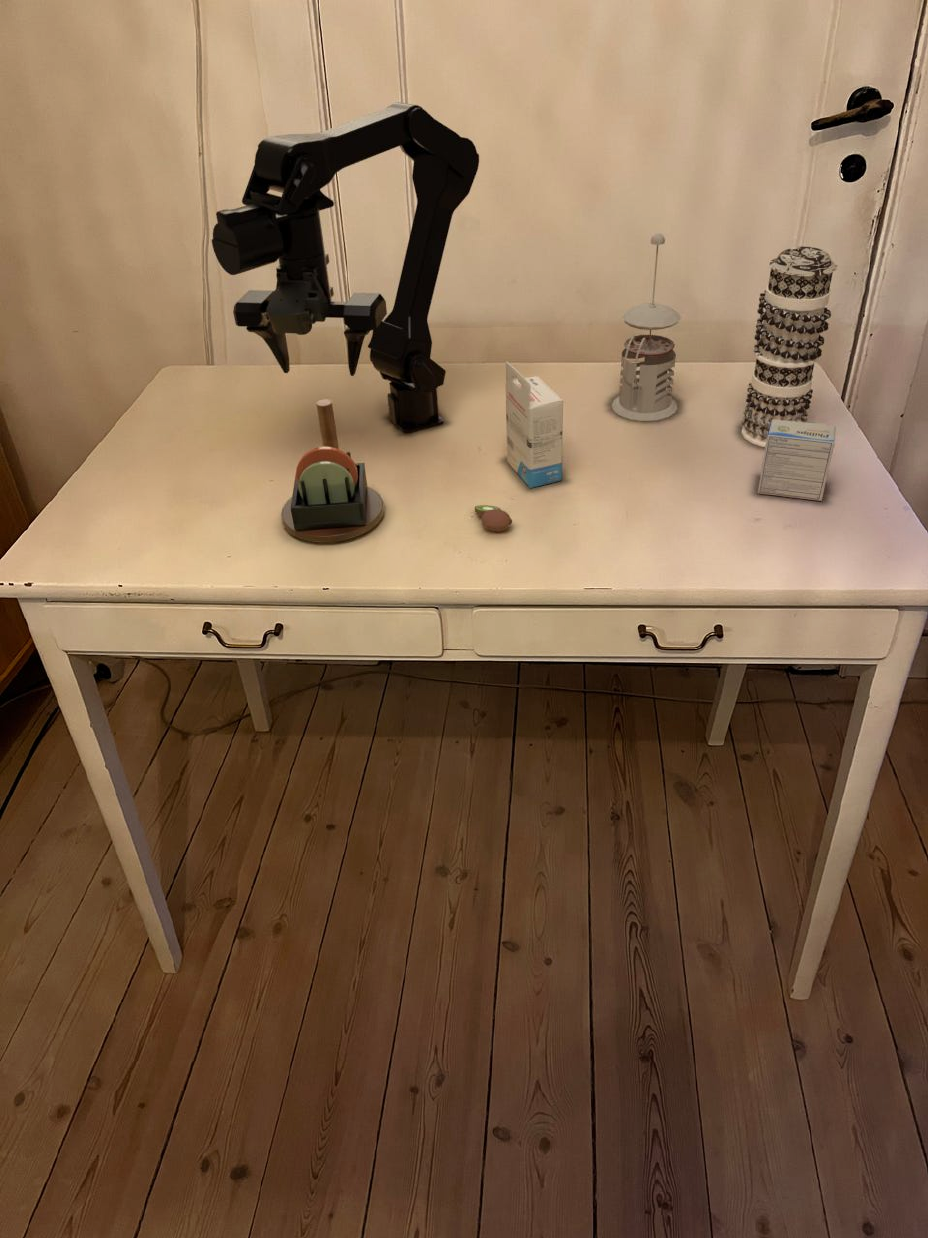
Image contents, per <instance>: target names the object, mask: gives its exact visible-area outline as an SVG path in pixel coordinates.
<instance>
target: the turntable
mask: <svg viewBox="0 0 928 1238" xmlns="http://www.w3.org/2000/svg"><path fill="white" fill-rule="evenodd" d="M291 502H292V496H291V497H290V498H289V499H288V500H287V501H286V502H285V503H284V505H283V506H282V509H281V515H280V516H281V521H282V525H283V527H284V529H285V530H286V531H287V532H288V533H289V534H290V535H291V536H293V537H296V538H298V539H301V540H304V541H308V542H313V543H314V542H315V543H333V542H340V541H345V540H350V539H353V538H356V537H358V536H360V535H363V534H365V533H367V532H368V531H370V530H372V529H373V528H374V527H375V526H376V525H378V523H379V522H380V521H381V519H382V517H383V515H384V510H385V509H384V508H385V507H384V500H383V498H382V497H381V495H380V494H379V493H378V491H376V490H375V489H374V488H371V487H369V486H367V502H366V525H359V526H346V527H333V528H320V529H307V530H295V529H294V524H293V519H292V514H291Z"/></svg>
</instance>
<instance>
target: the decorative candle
mask: <svg viewBox="0 0 928 1238" xmlns="http://www.w3.org/2000/svg"><path fill="white" fill-rule="evenodd" d="M769 267H770V273H769V278H768V284H767V286H766V289H765V290H764V292H761V293H759V298H758V302H759V303H758V308H757V310H756V312H757V314H759V317H758V318H757V320H756V325H755V328H756V329H755V335H754V336H753V337H754V340H755V341H756V343H755V344H754V346H753V347H754V349H753V355H754V357H755V358H756V359H755V366H754V370H753V372H752V375H751V382H749V383H748V387H747V390H746V391H747V394H746V398H745V402H746V403H747V404H746V405H745V406H744V410H743V415H744V416H743V418H742V421H741V425H742V427H741V428H742V429H741V433H740V434H741V435H742V437H743V439H745V440H746V441H748V442H750V444H753V445H755V446H758V447H762V448H765V446H766V441H767V435H768V430H769V426H770V421H771V420H773V419H775V420H785V421H796V422H808V416H809V412H808V411H807V410H809V409H810V407H811V404H812V403H811V399H812V398H813V393H814V390H813V388H812V386H813V385H812V384H813V379H814V375H813V372H814V368H815V364H816V363H817V362H818V361H819V360H820V357H821V356H822V352H823V350H822V349H821V348H820V347H821V346H824V344H825V338H824V337H823V336H822V335H821V334H823V332H826V331H827V330H829V322H828V321H827V320H828V319H830V318H831V317H832V311H831V310H830V309H828V308H827V306H828V304H829V301H830V296H831V285H832V279H833V273H834V272H835V271H836V270H837V268H838V264H836V263H835V262H834V261H833V260H832V258H831V256H830V254H829V253H828V252H827V251H826V250H823V249H821V248H818V247H813V246H793V247H788V248H786V249H784V250H782V251H781V252H780V253H779V254H778V255H777V257H775V258H773V259H771V260H770V261H769ZM764 309H765V310H764Z"/></svg>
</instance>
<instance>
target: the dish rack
mask: <svg viewBox="0 0 928 1238" xmlns="http://www.w3.org/2000/svg"><path fill="white" fill-rule="evenodd" d="M315 405H316V411H317V418H318V424H319V425H318V426H319V431H320V436H321V443H322V446H318V447H314V448H312V449H309V450H308V451H307V452H305V453H303V455H302V456H301V457H300V459H299V460H298V462H297V464H296V469H295V475H294V482H293V489H292V496H291V497H292V502H291V514H292V519H293V524H294V529H295V530H307V529H320V528H333V527H346V526H359V525H366V502H367V487H368V481H367V473H366V472H367V471H366V467H365V462H355V461H354V459H353V458H352V456H351V454H352V453H351V452H350V451H346V452H345V451H343V450H341V449H340V448H339V442H338V435H337V428H336V422H335V421H336V420H335V414H334V407H333V402H332V400H330V399H328V398H327V399H326V398H324V399H320V400H317V401H316V403H315Z"/></svg>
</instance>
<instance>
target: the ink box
mask: <svg viewBox="0 0 928 1238" xmlns="http://www.w3.org/2000/svg"><path fill="white" fill-rule="evenodd" d="M564 402H565V401H564V399H562V397H561V396H559V395H558V394H557V393H556V392H555V391H554V390H553V389H552V388H551V387H550V386H549V385H548V384H547V383H546V382H544V380H542V378H540V376H538V375H536V376H530V377H524V376H523V374H521V373H520V372H519V371H518V370H517V369H516V368H515V367H514V366H512V364H511V363H510V362H509V361H508V360H506V361H505V420H506V421H505V422H506V423H505V428H506V429H505V431H506V462H507V463H508V464H509V465H510V466H511V468H512V469H513V470H514V472H515V473H516V474H517V475H518V476H519V477H520V478H521V480H522V481H523V482H524V483H525V485H526V486H528V488H529V489H532V488H533V489H534V488H536V487H540V486H545V485H548V484H552V483H556V482H557V483H558V482H560V481H561V482H562V480H563V433H564V432H563V430H564V429H563V427H564V426H563V425H564Z"/></svg>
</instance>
